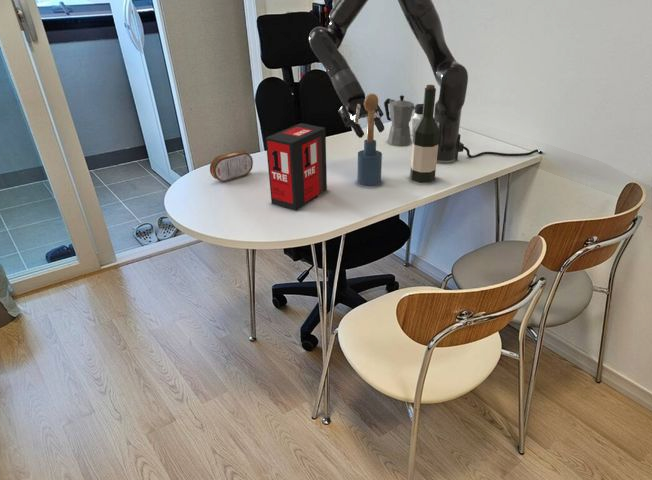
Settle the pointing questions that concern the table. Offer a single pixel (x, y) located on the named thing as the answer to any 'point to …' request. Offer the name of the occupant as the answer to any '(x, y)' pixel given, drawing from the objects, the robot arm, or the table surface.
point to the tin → (231, 165)
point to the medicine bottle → (417, 116)
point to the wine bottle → (425, 141)
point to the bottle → (369, 165)
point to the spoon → (370, 114)
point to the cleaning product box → (297, 165)
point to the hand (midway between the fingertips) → (372, 133)
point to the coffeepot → (399, 121)
